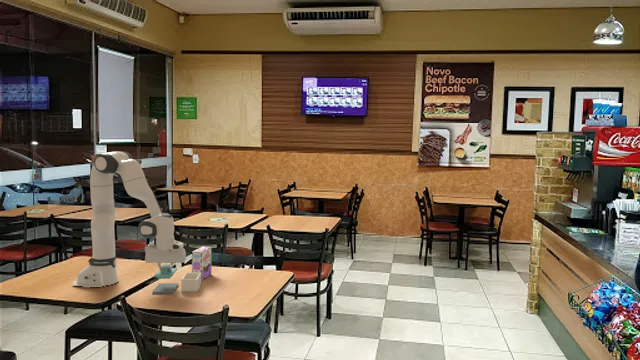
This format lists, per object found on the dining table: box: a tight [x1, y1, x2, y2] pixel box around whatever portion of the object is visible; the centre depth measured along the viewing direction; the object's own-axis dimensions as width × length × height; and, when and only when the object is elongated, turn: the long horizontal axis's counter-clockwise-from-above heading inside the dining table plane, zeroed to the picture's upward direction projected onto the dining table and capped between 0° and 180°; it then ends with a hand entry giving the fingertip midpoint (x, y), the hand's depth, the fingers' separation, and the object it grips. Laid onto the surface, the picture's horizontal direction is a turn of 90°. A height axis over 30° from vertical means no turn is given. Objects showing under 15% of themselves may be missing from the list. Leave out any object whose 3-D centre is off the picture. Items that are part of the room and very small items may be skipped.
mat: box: [151, 282, 179, 295], centre depth 249 cm, size 10×14×1 cm
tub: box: [180, 272, 202, 294], centre depth 251 cm, size 8×12×7 cm, turn 5°
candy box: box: [191, 246, 212, 282], centre depth 272 cm, size 14×6×16 cm, turn 168°
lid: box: [153, 263, 178, 280], centre depth 249 cm, size 9×13×5 cm
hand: (165, 270), depth 249 cm, fingers closed on lid, 3 cm apart
